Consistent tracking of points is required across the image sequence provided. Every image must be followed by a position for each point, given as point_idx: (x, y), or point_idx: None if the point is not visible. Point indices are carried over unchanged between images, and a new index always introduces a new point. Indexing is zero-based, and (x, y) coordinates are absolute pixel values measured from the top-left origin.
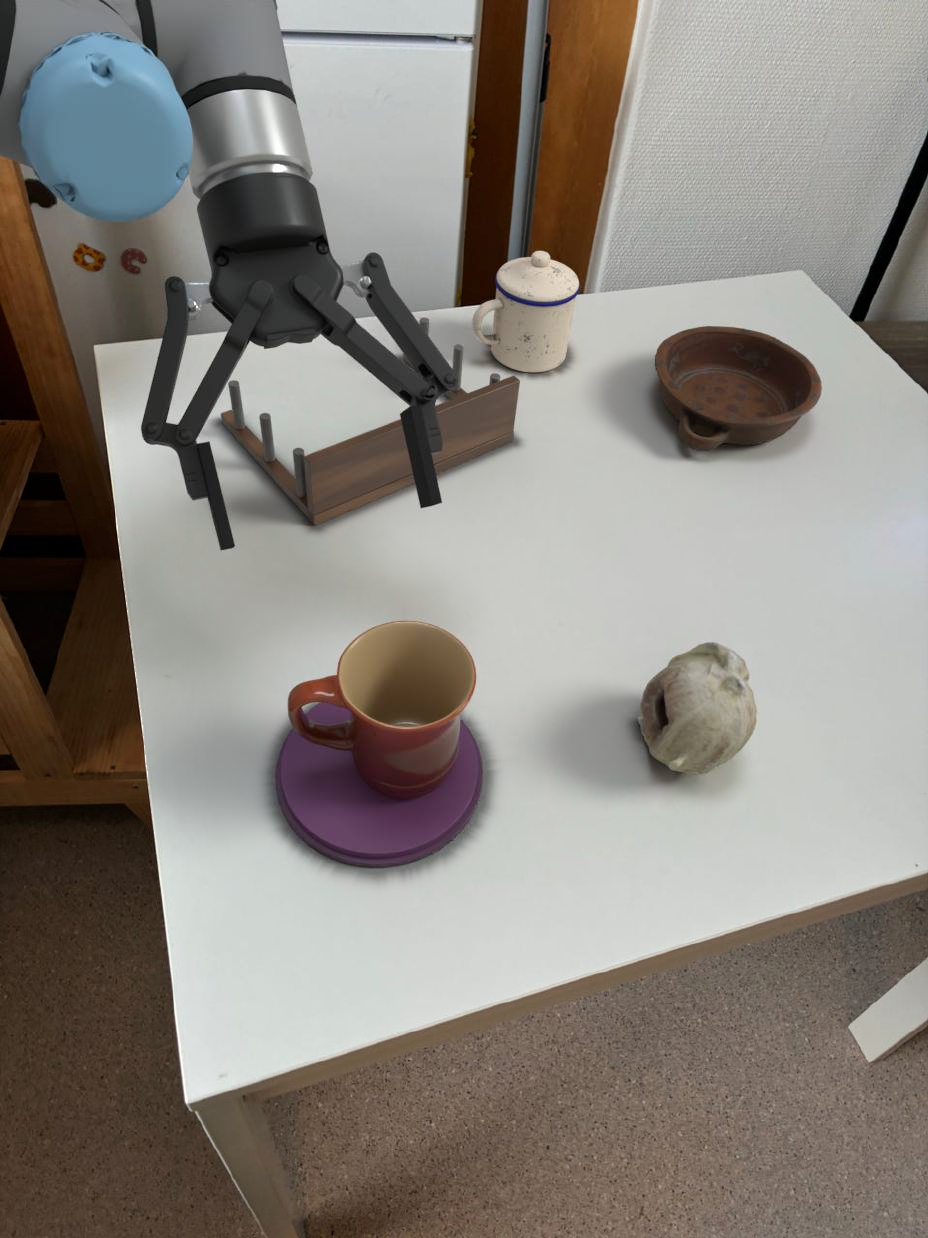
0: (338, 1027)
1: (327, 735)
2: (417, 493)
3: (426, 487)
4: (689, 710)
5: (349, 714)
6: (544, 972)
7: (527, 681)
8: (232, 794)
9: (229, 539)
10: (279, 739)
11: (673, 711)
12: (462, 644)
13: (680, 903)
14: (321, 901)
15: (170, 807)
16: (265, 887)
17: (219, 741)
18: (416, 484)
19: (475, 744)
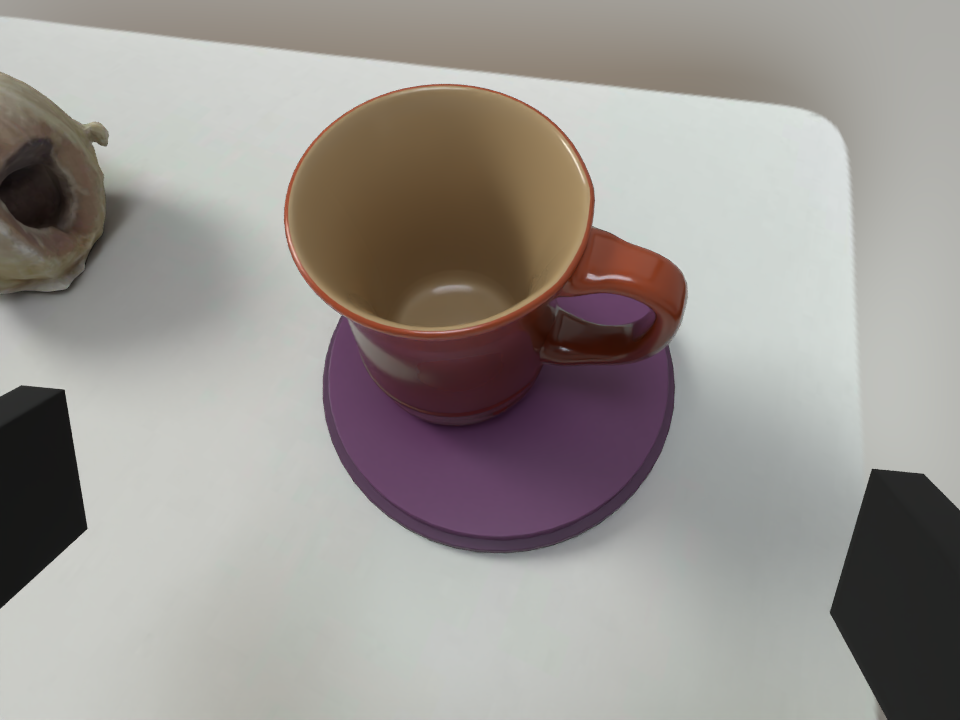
0: (679, 109)
1: (596, 330)
2: (47, 564)
3: (14, 438)
4: (8, 97)
5: (506, 478)
6: (434, 74)
7: (164, 436)
8: (743, 438)
9: (902, 489)
10: (638, 510)
11: (29, 121)
12: (286, 216)
13: (240, 75)
14: (654, 234)
15: (850, 458)
16: (724, 279)
17: (747, 554)
18: (19, 575)
19: (330, 348)
